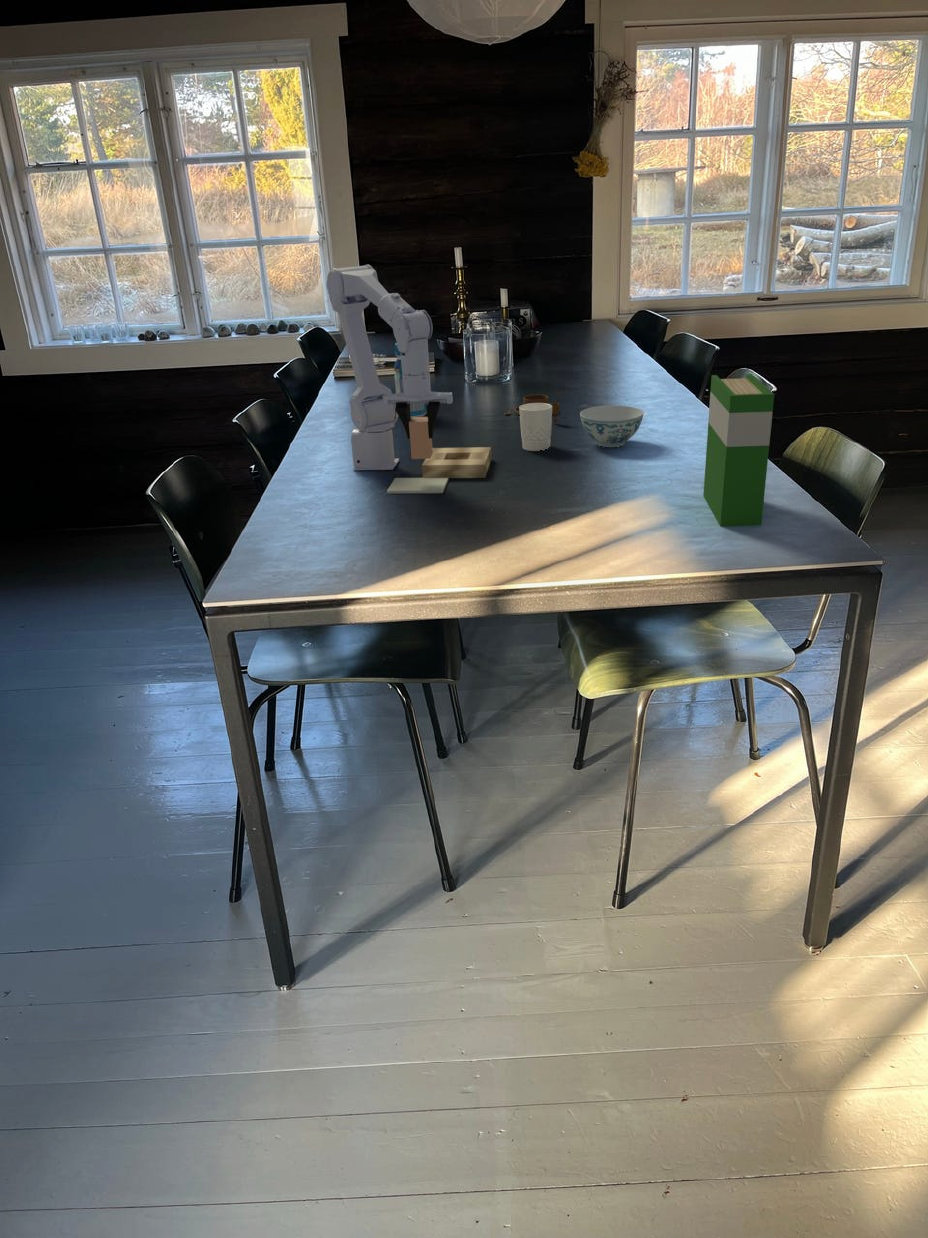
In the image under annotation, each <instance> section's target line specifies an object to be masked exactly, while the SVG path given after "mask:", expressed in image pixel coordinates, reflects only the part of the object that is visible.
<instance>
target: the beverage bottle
mask: <svg viewBox="0 0 928 1238" xmlns="http://www.w3.org/2000/svg"><path fill="white" fill-rule="evenodd" d="M394 353H395V357H397V358H396V360H395V362H394V366H393V371H394V377H393V380H394V383H395V384H394V385H395V393H404V390H403V377H402V364H401V352H400V351H399V350H398V347H397V342H395V343H394ZM426 404H427V403H424V404H410V415H411V418H412V417H426V416H427V408H426V407H427V405H426Z"/></svg>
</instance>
